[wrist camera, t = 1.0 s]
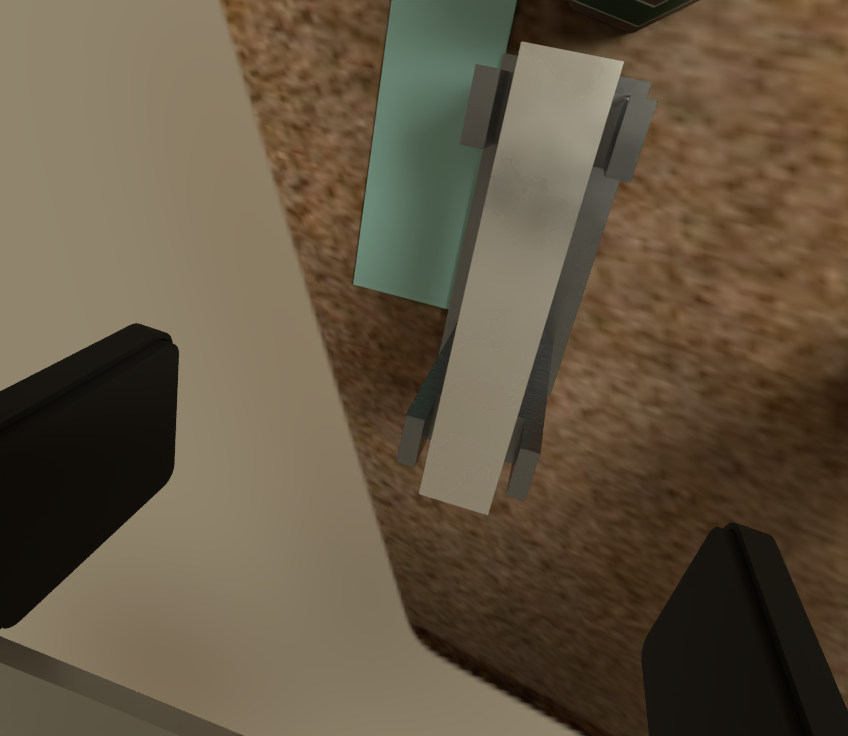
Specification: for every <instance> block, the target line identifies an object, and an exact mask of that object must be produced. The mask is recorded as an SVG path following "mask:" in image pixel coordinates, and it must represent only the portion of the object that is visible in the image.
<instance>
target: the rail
mask: <svg viewBox="0 0 848 736" xmlns="http://www.w3.org/2000/svg"><path fill="white" fill-rule="evenodd" d="M623 63H624V62H623V61H618V60H613V59H608V58H603V57H598V56H593V55H588V54H583V53H578V52H573V51H568V50H563V49H557V48H552V47H547V46H542V45H537V44H532V43H527V42H522V41H521V45H520V50H519V54H518V59H517V63H516V67H515V72H514V76H513V81H512V85H511V89H510V94H509V98H508V103H507V107H506V112H505V116H504V120H503V125H502V129H501V134H500V138H499V142H498V147H497V151H496V156H495V160H494V165H493V169H492V173H491V178H490V182H489V187H488V191H487V195H486V200H485V204H484V209H483V213H482V217H481V222H480V226H479V231H478V235H477V240H476V244H475V248H474V253H473V257H472V262H471V266H470V270H469V275H468V279H467V284H466V288H465V292H464V297H463V301H462V306H461V310H460V315H459V319H458V323H457V328H456V332H455V337H454V341H453V345H452V350H451V354H450V359H449V363H448V368H447V372H446V376H445V381H444V385H443V390H442V394H441V398H440V403H439V407H438V412H437V416H436V420H435V425H434V429H433V434H432V438H431V443H430V447H429V451H428V456H427V460H426V465H425V469H424V473H423V478H422V482H421V487H420V491H419V494H420V495H424V496H427V497H430V498H433V499H437V500H440V501H443V502H446V503H450V504H453V505H456V506H459V507H463V508H466V509H469V510H472V511H475V512H479V513H482V514H485V515H488V513H489V510H490V506H491V503H492V500H493V496H494V493H495V490H496V486H497V483H498V480H499V476H500V473H501V470H502V466H503V463H504V460H505V456H506V453H507V450H508V446H509V443H510V440H511V436H512V433H513V430H514V426H515V423H516V420H517V416H518V413H519V410H520V407H521V403H522V400H523V397H524V393H525V390H526V387H527V383H528V380H529V377H530V373H531V370H532V367H533V363H534V360H535V357H536V353H537V350H538V347H539V343H540V340H541V337H542V333H543V330H544V327H545V323H546V320H547V317H548V313H549V310H550V307H551V303H552V300H553V297H554V293H555V290H556V287H557V283H558V280H559V277H560V273H561V270H562V267H563V263H564V260H565V257H566V253H567V250H568V247H569V243H570V240H571V237H572V233H573V230H574V227H575V223H576V220H577V217H578V213H579V210H580V207H581V203H582V200H583V197H584V193H585V190H586V187H587V183H588V180H589V177H590V173H591V170H592V167H593V163H594V160H595V157H596V153H597V150H598V147H599V143H600V140H601V137H602V133H603V130H604V127H605V123H606V120H607V117H608V113H609V110H610V107H611V103H612V100H613V97H614V93H615V90H616V87H617V83H618V80H619V77H620V73H621V70H622V67H623Z"/></svg>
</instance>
